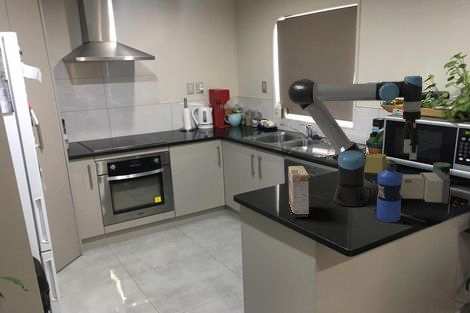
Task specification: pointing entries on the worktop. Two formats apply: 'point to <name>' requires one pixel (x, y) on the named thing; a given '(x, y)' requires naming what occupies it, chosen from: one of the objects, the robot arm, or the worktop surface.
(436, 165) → the canned tomato
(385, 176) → the water bottle
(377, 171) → the cheese
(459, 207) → the worktop surface
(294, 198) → the coffeecake box
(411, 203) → the worktop surface
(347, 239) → the worktop surface
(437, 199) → the beige stepped block
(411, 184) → the beige box
